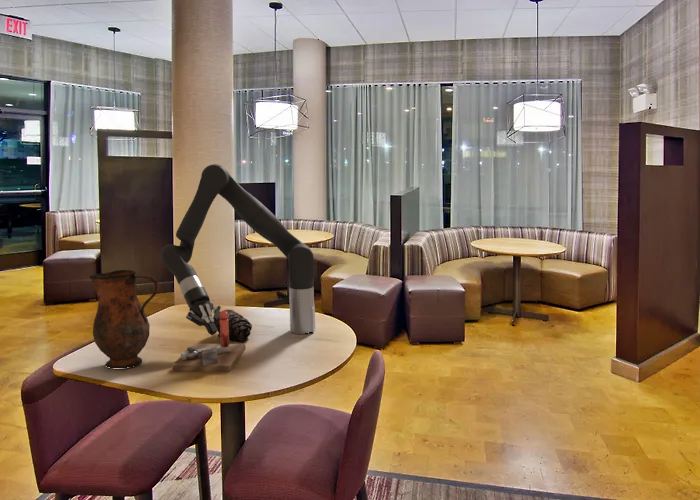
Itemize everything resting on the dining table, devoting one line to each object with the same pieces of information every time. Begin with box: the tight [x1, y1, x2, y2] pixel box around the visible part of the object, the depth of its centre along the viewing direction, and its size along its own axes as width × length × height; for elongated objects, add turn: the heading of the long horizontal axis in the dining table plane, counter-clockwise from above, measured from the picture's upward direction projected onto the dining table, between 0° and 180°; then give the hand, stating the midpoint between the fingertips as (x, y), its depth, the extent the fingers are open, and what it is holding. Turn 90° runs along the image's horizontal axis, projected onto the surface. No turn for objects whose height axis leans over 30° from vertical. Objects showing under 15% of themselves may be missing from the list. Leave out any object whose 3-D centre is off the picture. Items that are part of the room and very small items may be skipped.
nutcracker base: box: [171, 343, 247, 373], centre depth 175 cm, size 18×20×6 cm
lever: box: [180, 310, 231, 360], centre depth 173 cm, size 16×4×14 cm, turn 119°
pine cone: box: [215, 309, 253, 344], centre depth 198 cm, size 10×18×10 cm, turn 54°
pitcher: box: [89, 269, 160, 369], centre depth 170 cm, size 17×21×30 cm
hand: (214, 333), depth 180 cm, fingers closed
